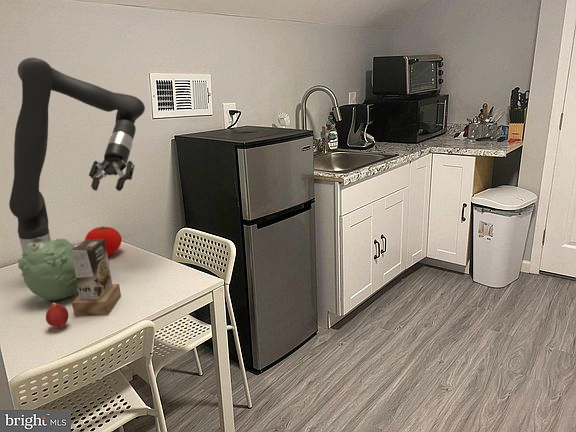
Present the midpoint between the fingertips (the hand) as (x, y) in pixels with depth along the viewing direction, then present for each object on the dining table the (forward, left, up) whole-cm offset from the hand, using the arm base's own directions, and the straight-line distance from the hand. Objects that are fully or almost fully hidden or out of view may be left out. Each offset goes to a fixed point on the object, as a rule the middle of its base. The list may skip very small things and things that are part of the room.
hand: (106, 189), depth 152 cm
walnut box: (+2, -18, -33) cm, 38 cm away
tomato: (-19, +22, -33) cm, 44 cm away
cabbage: (-14, -14, -33) cm, 38 cm away
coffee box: (+3, -18, -28) cm, 33 cm away
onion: (-2, -31, -33) cm, 45 cm away
